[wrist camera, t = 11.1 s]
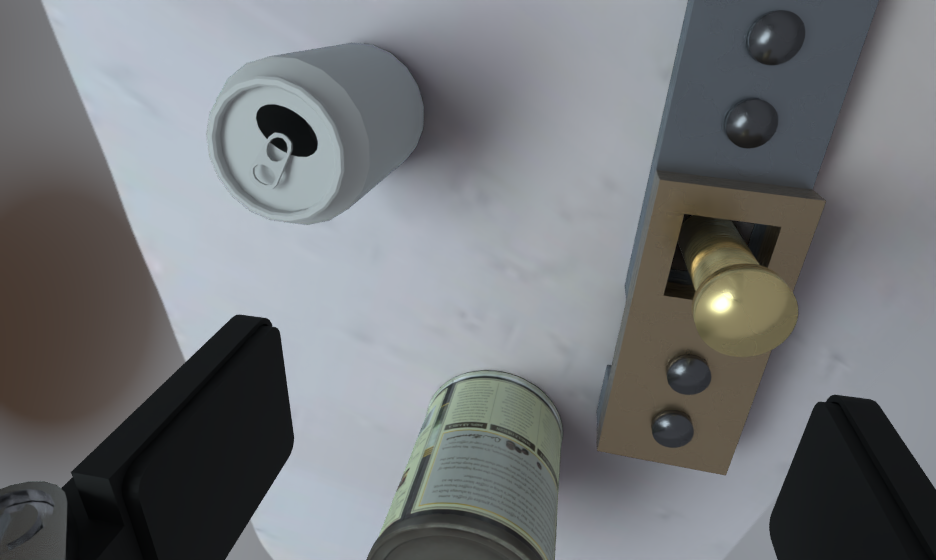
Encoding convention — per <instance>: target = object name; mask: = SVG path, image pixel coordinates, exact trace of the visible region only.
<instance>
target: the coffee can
mask: <svg viewBox="0 0 936 560" xmlns="http://www.w3.org/2000/svg"><path fill="white" fill-rule="evenodd" d="M562 438H563V428H562V423H561V419H560V416H559V414H558V412H557V410H556V408H555V406H554V405H553V403H552V402H551V401H550V399H549V398H548V397H547V396H546V395H545V394H544V393H543V392H542V391H541V390H540V389H539V388H537V387H536V386H534V385H533V384H531V383H529V382H528V381H526V380H524V379H522V378H520V377H517V376H514V375H511V374H508V373H504V372H498V371H477V372H470V373H466V374H462V375H459V376H457V377H455V378H453V379H451V380H449V381H448V382H446V383H445V384H444V385H443V386H441V387H440V388H439V390H438V391H437V392H436V393H435V395H434V396H433V398H432V400H431V402H430V404H429V407H428V412H427V415H426V418H425V420H424V423H423V425H422V428H421V430H420V433H419V435H418V438H417V440H416V443H415V445H414V448H413V451H412V453H411V456H410V458H409V461H408V464H407V466H406V469H405V471H404V474H403V476H402V479H401V481H400V484H399V486H398V489H397V491H396V493H395V496H394V498H393V501H392V504H391V507H390V509H389V512H388V514H387V517H386V519H385V522H384V524H383V527H382V529H381V532H380V534H379V537H378V539H377V540H376V541H375V543H374V545H373V547H372V548H371V550H370V552H369V555H368V557H367V559H366V560H555V543H556V526H557V504H558V488H559V471H560V454H561V444H562Z"/></svg>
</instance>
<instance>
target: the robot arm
mask: <svg viewBox="0 0 936 560" xmlns="http://www.w3.org/2000/svg"><path fill="white" fill-rule="evenodd" d="M293 443H294V433H293V426H292V419H291V411H290V404H289V396H288V389H287V381H286V374H285V366H284V359H283V351H282V344H281V337H280V332H279V330H278V328H276V327H272V323H271V322H270V320H269V319H267V318H261V317H254V316H246V315H235V316H234V317H232V318H231V319H230V320H229V321H228V322H227V323H226V324H225V325H224V326H223V327H222V328H221V329H220V330H219V331H218V332H217V333H216V334H215V335H214V336H213V337H212V338H210V339H209V340H208V341H207V342H206V343H205V344H204V345H203V346H202V347H201V348H200V349H199V350H198V351H197V352H196V353H195V354H194V355H193V356H192V357H191V358H190V359H189V360H188V361H186V362H185V364H183V365H182V366H181V367H180V368H179V369H178V370H177V371H176V372H175V373H174V374H173V375H172V376H171V377H170V378H169V379H168V380H167V381H166V382H165V383H164V384H162V386H160V387H159V388H158V389H157V390H156V391H155V392H154V393H153V394H152V395H151V396H150V397H149V398H148V399H147V400H146V401H145V402H144V403H143V404H142V405H141V406H140V407H138V408H137V409H136V410H135V411H134V412H133V413H132V414H131V415H130V416H129V417H128V418H127V419H126V420H125V421H124V422H123V423H122V424H121V425H120V426H119V427H118V428H117V429H116V430H115V431H114V432H112V433H111V434H110V435H109V436H108V437H107V438H106V439H105V440H104V441H103V442H102V443H101V444H100V445H99V446H98V447H97V448H96V449H95V450H94V451H93V452H92V453H90V454H89V455H88V456H87V457H86V458H85V459H84V460H83V461H82V462H81V463H80V464H79V465H78V466H77V467H76V468H75V469H74V470H73V471H72V472H71V474H72V476H73V478H71V479H70V481H68V482H67V483H66V484H65V485H64V486H63V487H62V488H60V487H59V486H57V485H55V484H52V483H48V482H45V481H32V482H24V483H19V484H14V485H10V486H7V487H5V488H2V489H0V560H225V559H226V557H227V556H228V554H229V552H230V551H231V549H232V548H233V546H234V544H235V543H236V541H237V540H238V538H239V536H240V535H241V533H242V532H243V530H244V528H245V527H246V525H247V524H248V522H249V520H250V519H251V517H252V516H253V514H254V512H255V511H256V509H257V508H258V506H259V504H260V503H261V501H262V500H263V498H264V496H265V495H266V493H267V492H268V490H269V488H270V487H271V485H272V484H273V482H274V480H275V479H276V477H277V475H278V474H279V472H280V471H281V469H282V467H283V466H284V464H285V463H286V461H287V459H288V458H289V456H290V454H291V451H292V448H293ZM769 525H770V526H769V528H770V536H771V540H772V544H773V547H774V550H775V553H776V556H777V559H778V560H936V489H935V488H934V486H933V485H932V483H931V482H930V480H929V479H928V477H927V476H926V475H925V473H924V472H923V470H922V469H921V467H920V465H919V464H918V463H917V461H916V460H915V458H914V457H913V455H912V454H911V452H910V451H909V449H908V448H907V446H906V445H905V443H904V442H903V440H902V439H901V438H900V436H899V434H898V433H897V431H896V430H895V429H894V427H893V425H892V424H891V422H890V421H889V419H888V418H887V416H886V415H885V414H884V412H883V411H882V409H881V408H880V406H879V405H878V404H877V403H876V402H875V401H873V400H871V399H863V398H856V397H848V396H841V395H832V396H830V397H829V398H828V399H827V401H826V402H818V403H817V404H816V405H815V406H814V408H813V411H812V413H811V416H810V418H809V421H808V423H807V426H806V428H805V431H804V433H803V436H802V438H801V441H800V443H799V446H798V448H797V451H796V453H795V456H794V458H793V461H792V463H791V466H790V468H789V471H788V473H787V476H786V478H785V481H784V483H783V486H782V488H781V491H780V493H779V496H778V498H777V501H776V504H775V506H774V509H773V511H772V514H771V517H770V524H769Z"/></svg>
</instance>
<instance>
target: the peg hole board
mask: <svg viewBox="0 0 936 560" xmlns="http://www.w3.org/2000/svg"><path fill="white" fill-rule="evenodd" d="M878 2H879V0H688V3H687V8H686V12H685V17H684V21H683V26H682V30H681V35H680V39H679V44H678V48H677V53H676V57H675V62H674V66H673V71H672V75H671V80H670V84H669V89H668V93H667V98H666V102H665V107H664V111H663V116H662V120H661V125H660V129H659V134H658V138H657V143H656V147H655V152H654V156H653V161H652V165H651V170H650V174H649V179H648V183H647V188H646V192H645V197H644V201H643V206H642V210H641V215H640V219H639V224H638V228H637V233H636V237H635V242H634V246H633V251H632V255H631V260H630V264H629V269H628V273H627V278H626V282H625V293H626V304H625V308H624V313H623V317H622V322H621V326H620V331H619V335H618V339H617V344H616V348H615V353H614V357H613V361H612V366H609V365H607V368H606V372H605V377H604V381H603V386H602V390H601V395H600V399H599V404H598V408H597V451H601V452H606V453H611V454H616V455H622V456H627V457H632V458H637V459H643V460H648V461H653V462H658V463H664V464H669V465H674V466H679V467H685V468H690V469H695V470H700V471H706V472H711V473H716V474H721V475H726V474H727V471H728V468H729V466H730V463H731V460H732V457H733V455H734V452H735V449H736V446H737V444H738V441H739V438H740V435H741V433H742V430H743V427H744V424H745V422H746V419H747V416H748V414H749V411H750V408H751V405H752V403H753V400H754V397H755V394H756V392H757V389H758V386H759V383H760V381H761V378H762V375H763V372H764V370H765V367H766V364H767V361H768V359H769V356H770V353H771V351H772V350H770V351H768V352H766V353H763V354H760V355H756V356H750V357H735V356H729V355H725V354H722V353H720V352H718V351H715V350H714V349H712V348H711V347H709V346H708V345H707V344H706V343H705V342H704V341H703V340H702V338H701V337H700V335H699V333H698V331H697V328H696V325H695V322H694V319H693V315H692V301H693V297H694V294H695V292H696V291H695V288H694V286H693V283H692V280H691V277H690V274H689V272H688V271H681V270H674V269H670V268H671V264H672V260H673V256H674V252H675V248H676V245H677V241H678V237H679V233H680V229H681V225H682V221H683V217H684V214H690V215H697V216H705V217H712V218H720V219H727V220H735V221H742V222H749V223H755V225H754V228H753V231H752V234H751V237H750V240H749V244H748V248H749V249H750V251H751V252H752V254H753V255H754V257H755V258H756V260H757V262H758V263H759V265H761V266H764V267H767V268H769V269H771V270H773V271H774V272H776V273H777V274H778V275H779V276H781V277H782V279H783V280H784V281H785V282H786V284H787V285H788V287H789V288H790V289H791V291H792V292H793V290H794V288H795V285H796V282H797V279H798V277H799V274H800V271H801V268H802V266H803V263H804V260H805V257H806V255H807V252H808V249H809V246H810V244H811V241H812V238H813V236H814V233H815V230H816V227H817V225H818V222H819V219H820V216H821V214H822V211H823V208H824V205H825V203H826V201H825V200H824V199H823V198H822V197H821V196H819V195H818V194H817V193H816V192H815V191H813V190H812V189H813V187H814V184H815V181H816V178H817V175H818V172H819V169H820V167H821V164H822V161H823V158H824V155H825V152H826V150H827V147H828V144H829V141H830V138H831V135H832V132H833V130H834V127H835V124H836V121H837V118H838V115H839V113H840V110H841V107H842V104H843V101H844V98H845V95H846V93H847V90H848V87H849V84H850V81H851V78H852V76H853V73H854V70H855V67H856V64H857V61H858V58H859V56H860V53H861V50H862V47H863V44H864V41H865V39H866V36H867V33H868V30H869V27H870V24H871V21H872V19H873V16H874V13H875V10H876V7H877V4H878Z"/></svg>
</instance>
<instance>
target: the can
mask: <svg viewBox="0 0 936 560" xmlns="http://www.w3.org/2000/svg"><path fill="white" fill-rule="evenodd" d="M423 122H424V105H423V102H422V98H421V94H420V91H419V87H418V85H417V83H416V82H415V80H414V78H413V77H412V75H411V74H410V72H409V70H408V69H407V67H406V66H405V65H404V64H402V63H401V62H400V61H399V60H398V59H397V58H396V57H394V56H393V55H392V54H391V53H389V52H387V51H385V50H383V49H380V48H378V47H376V46H374V45H371V44H359V43H348V44H342V45H336V46H330V47H323V48H317V49H311V50H305V51H299V52H293V53H287V54H281V55H275V56H269V57H266V58H263V59H259V60H256V61H253V62H249V63H246V64H245V65H244V66H243V67H241V68H240V69H239V70H238V71H236V72H235V73H234V74H233V75H232V76H230V77H229V78H228V79H227V81H226V83H225V85H224V86H223V88H222V90H221V92H220V94H219V95H218V97H217V99H216V103H215V104H214V106H213V108H212V110H211V112H210V115H209V121H208V127H207V133H206V136H207V143H208V151H209V157H210V160H211V162H212V164H213V167H214V169H215V171H216V174H217V176H218V178H219V180H220V181H221V182H222V184H223V185H224V186H225V188H226V189H227V190H228V192H229V193H230V194H231V196H232V197H233V198H234V199H236V200H237V201H238V202H239V203H241V204H242V205H243V206H244V207H246V208H247V209H248V210H249V211H251V212H253V213H255V214H258V215H260V216H262V217H264V218H267V219H269V220H274V221H282V222H287V223H295V224H303V225H310V224H315V223H320V222H325V221H330V220H331V219H333V218H334V217H336V216H338V215H339V214H341V213H343V212H344V211H346V210H347V209H349V208H350V207H351V206H352V205H353V204H355V203H356V202H357V201H358V200H359V199H361V198H362V197H363V196H364V195H365V194H366V193H368V192H369V191H370V190H371V189H372V188H374V187H375V186H376V185H377V184H378V183H379V182H381V181H382V180H383V179H384V178H385V177H387V176H388V175H389V174H390V173H391V172H392V171H394V170H395V169H396V168H397V167H398V166H399V165H401V164H402V163H403V162H404V161H405V160H406V159H407V158H408V157H409V155H410V154H411V153H412V151H413V150H414V149H415V148H416V146H417V144H418V141H419V138H420V136H421V133H422V130H423Z"/></svg>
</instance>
